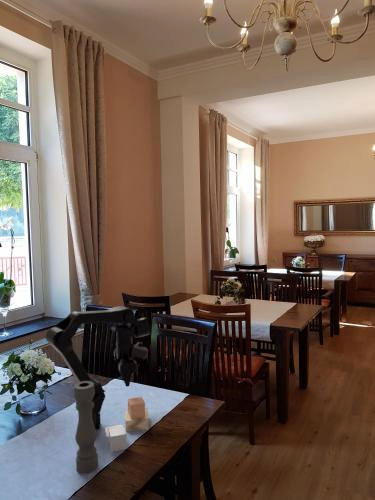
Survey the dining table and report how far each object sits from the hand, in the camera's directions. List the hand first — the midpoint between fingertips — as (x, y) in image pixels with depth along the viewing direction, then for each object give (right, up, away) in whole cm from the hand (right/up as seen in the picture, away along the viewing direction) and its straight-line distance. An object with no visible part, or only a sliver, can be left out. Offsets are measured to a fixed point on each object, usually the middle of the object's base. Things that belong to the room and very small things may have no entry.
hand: (125, 381), depth 147 cm
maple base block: (+5, -13, -8) cm, 16 cm away
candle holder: (-6, -15, -31) cm, 35 cm away
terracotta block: (+5, -9, -8) cm, 13 cm away
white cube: (+1, -14, -21) cm, 25 cm away
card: (-2, -13, -12) cm, 18 cm away
